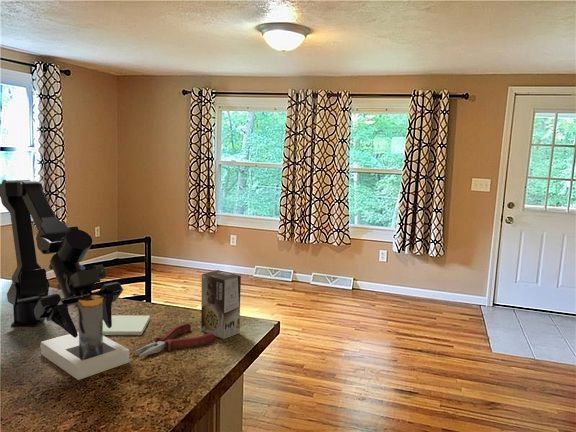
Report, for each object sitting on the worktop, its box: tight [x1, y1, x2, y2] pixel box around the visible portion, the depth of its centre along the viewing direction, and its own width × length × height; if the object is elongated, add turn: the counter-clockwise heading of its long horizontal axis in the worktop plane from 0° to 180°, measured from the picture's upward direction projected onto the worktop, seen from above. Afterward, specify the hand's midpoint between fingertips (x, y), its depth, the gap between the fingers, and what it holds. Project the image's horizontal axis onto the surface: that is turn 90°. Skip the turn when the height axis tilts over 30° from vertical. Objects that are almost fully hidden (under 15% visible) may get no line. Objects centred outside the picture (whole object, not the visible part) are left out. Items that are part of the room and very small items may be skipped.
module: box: [77, 295, 104, 361], centre depth 106 cm, size 5×5×15 cm
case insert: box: [40, 331, 130, 381], centre depth 109 cm, size 18×12×3 cm, turn 50°
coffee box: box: [200, 269, 242, 340], centre depth 127 cm, size 9×6×16 cm
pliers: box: [131, 323, 215, 358], centre depth 118 cm, size 12×20×3 cm, turn 141°
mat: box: [103, 314, 151, 336], centre depth 129 cm, size 12×12×1 cm
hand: (93, 331), depth 105 cm, fingers open, 8 cm apart
